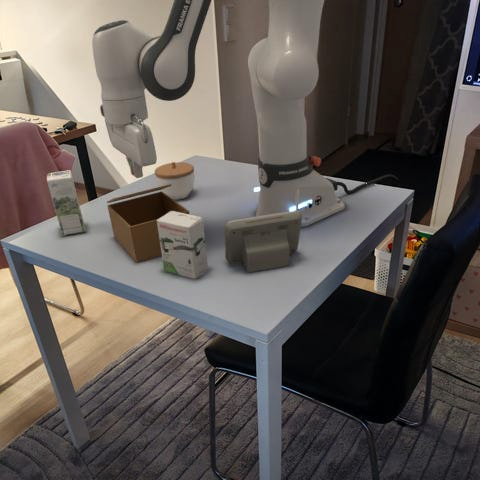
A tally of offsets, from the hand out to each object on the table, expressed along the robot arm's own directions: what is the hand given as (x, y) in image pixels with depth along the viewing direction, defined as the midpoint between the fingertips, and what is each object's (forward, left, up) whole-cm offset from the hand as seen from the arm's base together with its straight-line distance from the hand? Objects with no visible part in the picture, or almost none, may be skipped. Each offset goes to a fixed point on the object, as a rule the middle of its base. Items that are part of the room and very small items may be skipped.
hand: (137, 176), depth 118 cm
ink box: (-1, +20, -15) cm, 25 cm away
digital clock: (-16, +27, -15) cm, 35 cm away
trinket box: (-17, -21, -15) cm, 31 cm away
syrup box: (+14, -16, -15) cm, 26 cm away
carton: (0, +3, -15) cm, 15 cm away
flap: (0, -2, -5) cm, 5 cm away
